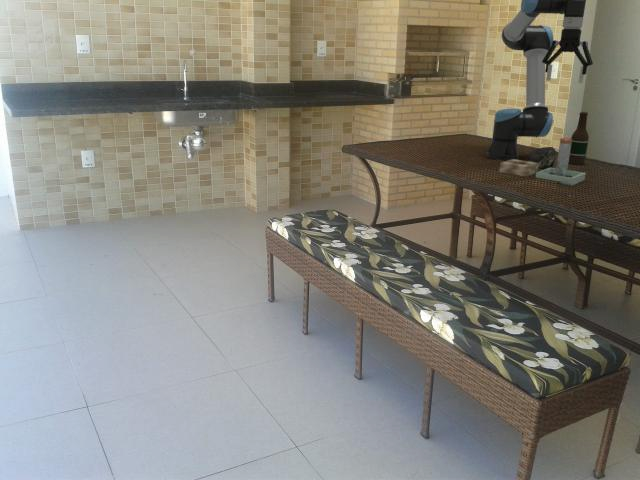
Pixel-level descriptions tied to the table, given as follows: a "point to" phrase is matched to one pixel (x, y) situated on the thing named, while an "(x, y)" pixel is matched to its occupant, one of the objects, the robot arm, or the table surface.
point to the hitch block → (519, 167)
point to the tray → (562, 180)
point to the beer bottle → (579, 142)
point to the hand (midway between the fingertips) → (564, 81)
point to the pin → (563, 157)
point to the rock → (543, 157)
